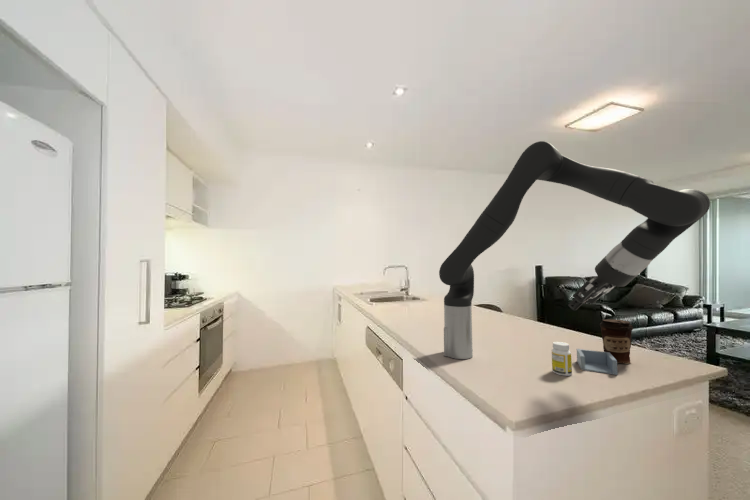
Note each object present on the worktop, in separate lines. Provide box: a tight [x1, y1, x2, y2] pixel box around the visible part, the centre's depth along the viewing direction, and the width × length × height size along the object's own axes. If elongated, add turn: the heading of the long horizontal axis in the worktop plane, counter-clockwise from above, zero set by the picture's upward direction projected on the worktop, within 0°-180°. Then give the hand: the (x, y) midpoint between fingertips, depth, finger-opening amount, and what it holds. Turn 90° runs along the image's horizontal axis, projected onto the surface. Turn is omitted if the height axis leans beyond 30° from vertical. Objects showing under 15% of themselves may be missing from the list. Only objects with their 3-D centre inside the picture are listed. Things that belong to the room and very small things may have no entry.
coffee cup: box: [599, 318, 634, 365], centre depth 91 cm, size 9×8×13 cm
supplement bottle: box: [551, 341, 573, 377], centre depth 82 cm, size 5×5×8 cm
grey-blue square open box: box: [576, 348, 619, 376], centre depth 85 cm, size 8×8×4 cm
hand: (580, 304), depth 80 cm, fingers open, 8 cm apart
